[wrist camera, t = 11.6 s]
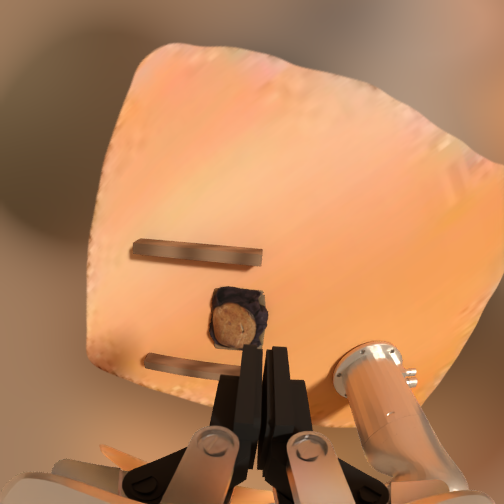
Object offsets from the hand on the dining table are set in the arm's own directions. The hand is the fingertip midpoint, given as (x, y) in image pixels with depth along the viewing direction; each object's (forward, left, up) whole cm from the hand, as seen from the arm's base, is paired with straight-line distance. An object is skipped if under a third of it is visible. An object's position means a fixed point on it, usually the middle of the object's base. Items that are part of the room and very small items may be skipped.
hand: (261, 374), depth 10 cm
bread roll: (+2, +14, -28) cm, 31 cm away
